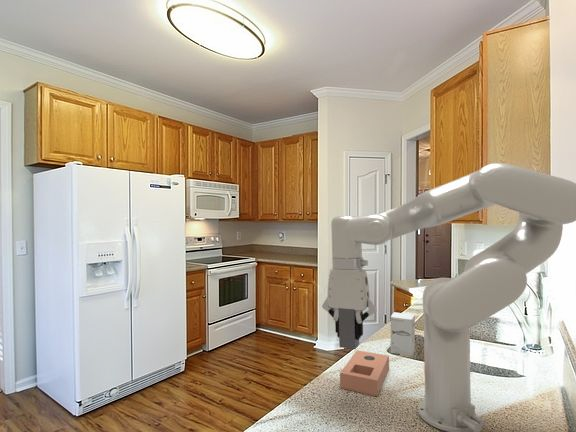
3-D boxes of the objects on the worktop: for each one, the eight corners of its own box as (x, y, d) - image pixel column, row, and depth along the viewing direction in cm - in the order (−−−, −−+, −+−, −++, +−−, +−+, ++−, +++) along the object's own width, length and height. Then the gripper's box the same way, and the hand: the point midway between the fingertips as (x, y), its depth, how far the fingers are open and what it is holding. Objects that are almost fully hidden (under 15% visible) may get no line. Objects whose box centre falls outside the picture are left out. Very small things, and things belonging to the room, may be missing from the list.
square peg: (344, 341, 85) (343, 303, 86) (359, 344, 84) (358, 304, 84) (339, 347, 82) (338, 306, 82) (355, 349, 80) (354, 308, 80)
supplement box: (390, 353, 113) (389, 316, 113) (393, 346, 119) (393, 311, 120) (412, 357, 109) (412, 319, 110) (415, 349, 116) (414, 313, 116)
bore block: (356, 362, 105) (356, 350, 105) (389, 368, 100) (388, 355, 100) (340, 387, 89) (340, 372, 89) (377, 396, 84) (377, 380, 84)
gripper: (383, 263, 83) (385, 336, 82) (321, 262, 90) (323, 328, 90) (377, 267, 76) (380, 346, 76) (311, 265, 84) (313, 337, 83)
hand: (349, 336), depth 83 cm, fingers closed on square peg, 4 cm apart
